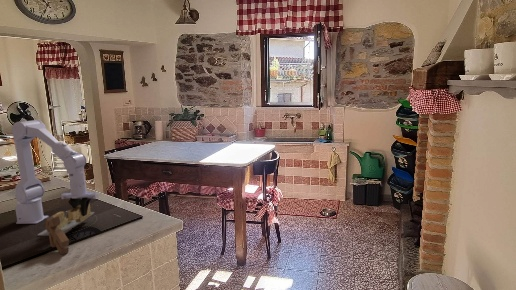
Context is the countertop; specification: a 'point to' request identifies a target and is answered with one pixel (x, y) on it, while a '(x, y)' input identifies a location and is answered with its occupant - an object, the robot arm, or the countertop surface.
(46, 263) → the countertop surface
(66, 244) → the figurine
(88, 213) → the tan block
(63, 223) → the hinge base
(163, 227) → the countertop surface
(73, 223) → the board
